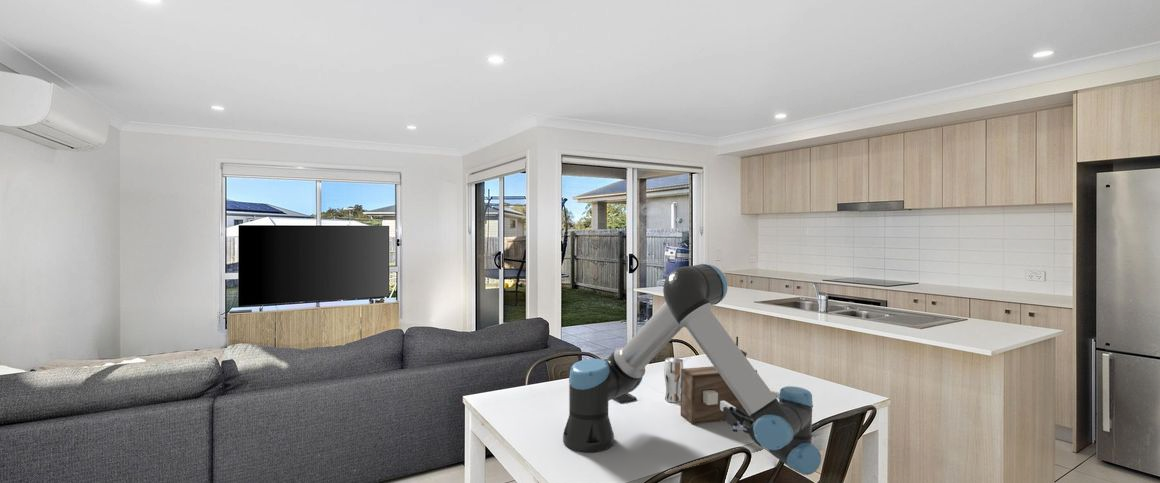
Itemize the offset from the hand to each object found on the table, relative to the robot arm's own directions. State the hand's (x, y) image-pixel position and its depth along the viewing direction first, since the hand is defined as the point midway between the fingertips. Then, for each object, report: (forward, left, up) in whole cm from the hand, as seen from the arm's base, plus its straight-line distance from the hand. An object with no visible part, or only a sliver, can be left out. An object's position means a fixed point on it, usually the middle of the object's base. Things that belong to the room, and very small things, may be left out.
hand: (722, 405), depth 159 cm
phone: (+11, +44, -10) cm, 46 cm away
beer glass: (+19, +25, -9) cm, 32 cm away
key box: (+13, +6, -9) cm, 17 cm away
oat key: (+5, +6, -2) cm, 8 cm away
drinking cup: (+49, +11, -9) cm, 51 cm away
